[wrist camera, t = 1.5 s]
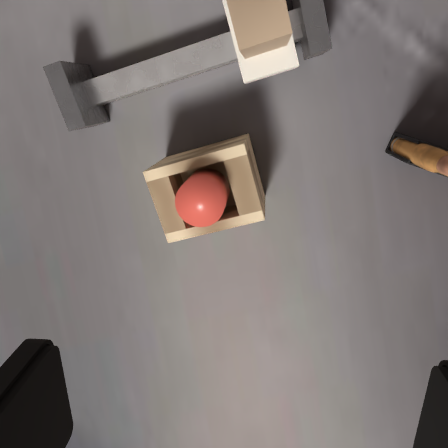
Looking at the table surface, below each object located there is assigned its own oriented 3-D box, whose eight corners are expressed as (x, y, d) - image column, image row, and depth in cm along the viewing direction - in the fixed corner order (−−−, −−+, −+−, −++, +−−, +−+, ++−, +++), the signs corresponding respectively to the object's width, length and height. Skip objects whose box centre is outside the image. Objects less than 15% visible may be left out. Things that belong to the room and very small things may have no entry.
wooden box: (248, 133, 34) (244, 143, 27) (265, 196, 36) (264, 220, 29) (165, 157, 35) (142, 172, 29) (185, 216, 37) (168, 243, 31)
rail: (309, -13, 30) (317, -32, 25) (322, 54, 31) (332, 47, 26) (74, 70, 34) (42, 66, 29) (95, 125, 35) (68, 131, 30)
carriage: (277, -18, 27) (281, -66, 19) (295, 68, 29) (307, 59, 21) (224, 1, 28) (206, -37, 20) (245, 83, 30) (237, 81, 22)
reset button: (222, 163, 30) (216, 172, 26) (234, 205, 31) (230, 220, 27) (179, 174, 30) (168, 186, 27) (193, 216, 31) (184, 232, 28)
